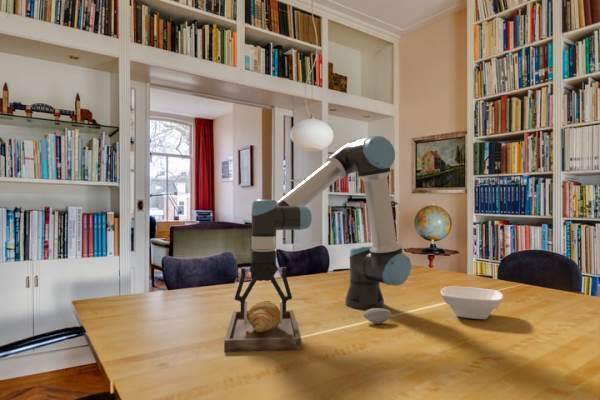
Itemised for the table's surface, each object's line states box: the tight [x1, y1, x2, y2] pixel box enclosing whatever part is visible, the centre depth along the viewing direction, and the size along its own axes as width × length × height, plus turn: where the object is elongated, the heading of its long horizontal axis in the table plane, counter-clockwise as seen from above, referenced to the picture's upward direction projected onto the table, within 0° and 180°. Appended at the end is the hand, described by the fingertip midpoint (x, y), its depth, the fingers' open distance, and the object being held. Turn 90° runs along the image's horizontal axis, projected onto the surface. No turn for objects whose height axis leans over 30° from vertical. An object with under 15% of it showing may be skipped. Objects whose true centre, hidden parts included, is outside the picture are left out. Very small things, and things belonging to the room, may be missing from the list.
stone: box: [362, 307, 392, 325], centre depth 132 cm, size 10×5×5 cm, turn 99°
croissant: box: [247, 300, 280, 332], centre depth 120 cm, size 21×10×8 cm, turn 179°
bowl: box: [440, 285, 504, 320], centre depth 141 cm, size 21×21×9 cm
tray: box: [223, 309, 302, 353], centre depth 120 cm, size 20×29×3 cm
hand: (263, 322), depth 120 cm, fingers closed on croissant, 10 cm apart
